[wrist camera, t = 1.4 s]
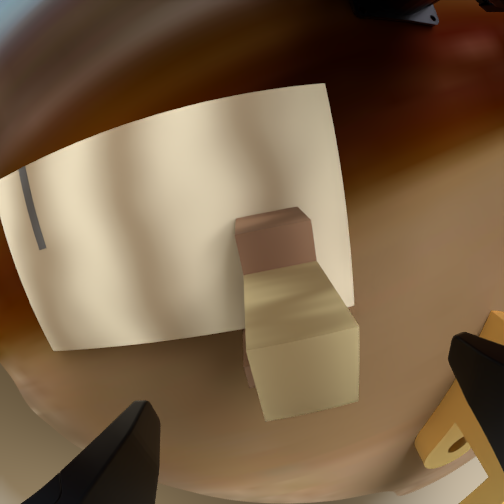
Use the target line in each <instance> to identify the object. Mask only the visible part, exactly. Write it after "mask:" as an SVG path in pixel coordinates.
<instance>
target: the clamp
mask: <svg viewBox="0 0 504 504" xmlns="http://www.w3.org/2000/svg"><path fill="white" fill-rule="evenodd" d="M479 337H481V338H484V339H487V340H490V341H493V342H496V343H498V344H501V345H504V312H501V311H492V310H491V312H490V314H489V316H488V319H487V321H486V323H485V325H484V327H483V329H482V331H481V333H480V335H479ZM414 445H415V447H416V449H417V451H418V453H419V455H420V457H421V460H422V462H423V464H424V466H425V467H426V468H428V469H433V468H438V467H441V466H444V465H446V464H448V463H450V462H452V461H454V460H455V459H457V458H459V457H460V456H462V455H463V454H464V453H466V452H467V451H468V450H469V449H471V448H472V450H473V451H474V453H475V455H476V456H477V458H478V460H479V461H480V463H481V465H482V466H483V468H484V470H485V471H486V473H487V475H488V478H487V479H486V480H485V481H484V482H483V483H482V484H481V485H480V486H478V487H477V488H476V489H475V490H474V491H473V492H472V493H471V494H469V495H468V496H467V497H466V498H465V499H464V500H462V501H461V502H460V503H459V504H504V472H503V470H502V468H501V465H500V463H499V461H498V459H497V457H496V455H495V453H494V451H493V449H492V447H491V445H490V443H489V441H488V439H487V437H486V436H485V434H484V432H483V430H482V428H481V426H480V424H479V423H478V421H477V419H476V417H475V415H474V414H473V412H472V410H471V408H470V406H469V405H468V403H467V401H466V399H465V397H464V395H463V392H462V390H461V388H460V386H459V383H458V381H457V379H455V381H454V382H453V384H452V386H451V387H450V389H449V390H448V392H447V393H446V395H445V397H444V398H443V400H442V401H441V403H440V404H439V406H438V407H437V408H436V410H435V411H434V413H433V414H432V416H431V417H430V418H429V420H428V421H427V423H426V424H425V425H424V427H423V428H422V429H421V431H420V432H419V433H418V435H417V437H416V439H415V443H414Z"/></svg>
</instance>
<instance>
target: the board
mask: <svg viewBox="0 0 504 504" xmlns="http://www.w3.org/2000/svg"><path fill="white" fill-rule="evenodd" d="M291 207H298V208H299V209H300V210H301V211H302V212H303V213H305V214H306V215H307V216H308V217H309V218H310V219H311V223H312V230H313V237H314V244H315V252H316V259H317V262H318V263H319V265H320V266H321V268H322V269H323V271H324V272H325V274H326V275H327V277H328V279H329V280H330V282H331V283H332V285H333V286H334V288H335V289H336V291H337V292H338V294H339V295H340V297H341V299H342V300H343V302H344V303H345V305H346V306H347V307H350V306H354V292H353V276H352V262H351V250H350V239H349V229H348V220H347V211H346V203H345V195H344V187H343V180H342V173H341V167H340V160H339V154H338V148H337V142H336V136H335V131H334V125H333V120H332V115H331V110H330V105H329V100H328V95H327V91H326V86H325V83H321V84H310V85H301V86H292V87H285V88H277V89H270V90H264V91H258V92H252V93H246V94H241V95H235V96H230V97H225V98H220V99H216V100H211V101H207V102H203V103H198V104H194V105H190V106H186V107H182V108H178V109H175V110H171V111H167V112H164V113H160V114H157V115H154V116H150V117H147V118H144V119H141V120H137V121H134V122H131V123H128V124H125V125H122V126H119V127H117V128H114V129H111V130H108V131H105V132H103V133H100V134H97V135H95V136H92V137H90V138H87V139H85V140H82V141H80V142H77V143H75V144H72V145H70V146H68V147H65V148H63V149H61V150H58V151H56V152H54V153H52V154H50V155H47V156H45V157H43V158H41V159H39V160H37V161H35V162H33V163H31V164H29V165H27V166H24V167H22V168H20V169H19V170H17V171H15V172H13V173H11V174H9V175H8V176H6V177H4V178H2V179H0V217H1V221H2V225H3V228H4V232H5V235H6V238H7V242H8V245H9V248H10V251H11V254H12V257H13V260H14V263H15V266H16V268H17V271H18V274H19V276H20V279H21V282H22V284H23V287H24V289H25V292H26V294H27V297H28V299H29V301H30V304H31V306H32V308H33V310H34V313H35V315H36V317H37V319H38V321H39V323H40V326H41V328H42V330H43V332H44V334H45V336H46V338H47V340H48V342H49V344H50V345H51V347H52V349H53V351H65V350H80V349H93V348H104V347H115V346H125V345H134V344H143V343H152V342H160V341H168V340H175V339H182V338H189V337H196V336H203V335H209V334H216V333H222V332H228V331H234V330H239V329H245V307H244V275H243V271H242V266H241V262H240V257H239V253H238V248H237V244H236V239H235V221H236V218H240V217H245V216H250V215H255V214H260V213H265V212H270V211H276V210H281V209H286V208H291Z"/></svg>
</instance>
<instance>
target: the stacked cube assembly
mask: <svg viewBox="0 0 504 504" xmlns="http://www.w3.org/2000/svg"><path fill="white" fill-rule="evenodd" d="M235 239H236V244H237V248H238V253H239V257H240V262H241V266H242V271H243V275H244V307H245V329H243V366H244V370H245V374H246V377H247V381H248V384H249V388H254V387H256V389H257V393H258V397H259V400H260V404H261V407H262V411H263V414H264V418H265V422H266V421H272V420H278V419H283V418H289V417H294V416H299V415H304V414H309V413H313V412H318V411H322V410H326V409H330V408H334V407H338V406H342V405H346V404H350V403H353V402H357V401H358V395H359V325H358V324H357V322H356V321H355V319H354V317H353V316H352V314H351V313H350V311H349V309H348V308H347V306H346V305H345V303H344V302H343V300H342V299H341V297H340V295H339V294H338V292H337V291H336V289H335V288H334V286H333V285H332V283H331V282H330V280H329V279H328V277H327V275H326V274H325V272H324V271H323V269H322V268H321V266H320V265H319V263H318V262H317V259H316V252H315V244H314V237H313V230H312V223H311V219H310V218H309V217H308V216H307V215H306V214H305V213H303V212H302V211H301V210H300V209H299V208H298V207H291V208H286V209H281V210H276V211H270V212H265V213H260V214H255V215H250V216H245V217H240V218H236V221H235Z"/></svg>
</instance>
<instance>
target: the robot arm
mask: <svg viewBox="0 0 504 504" xmlns="http://www.w3.org/2000/svg"><path fill="white" fill-rule="evenodd" d="M349 1H350V4H351V7H352V9H353V12H354V14H355V15H356V16H357V17H359V18H363V19H380V20H391V21H401V22H409V23H416V24H423V25H429V26H435V25H437V24H438V23H439V20H438V17H437V14H436V11H435V9H434V6H433V4H434V3H436V2H438V1H439V0H349ZM476 1H477V2H478V3H479V6H481V7H482V8H483V9H484V10H485V11H486V12H504V0H476ZM359 9H362V10H363V11H364V13H362V12H360V10H359ZM430 17H431V18H432V20H433V21H432V20H431V18H430ZM448 361H449V364H450V366H451V368H452V371H453V373H454V375H455V377H456V379H457V381H458V383H459V386H460V388H461V390H462V392H463V395H464V397H465V399H466V401H467V403H468V405H469V406H470V408H471V410H472V412H473V414H474V415H475V417H476V419H477V421H478V423H479V424H480V426H481V428H482V430H483V432H484V434H485V436H486V437H487V439H488V441H489V443H490V445H491V447H492V449H493V451H494V453H495V455H496V457H497V459H498V461H499V463H500V465H501V468H502V470H503V472H504V345H501V344H498V343H496V342H493V341H490V340H487V339H484V338H481V337H478V336H475V335H473V334H470V333H467V332H462V333H459V334H457V335H455V336H453V338H452V341H451V346H450V351H449V356H448ZM159 462H160V420H159V418H158V416H157V414H156V412H155V411H154V409H153V407H152V405H151V404H150V402H149V401H146V400H141V401H134V402H133V403H132V404H131V405H130V406H129V407H128V408H127V409H126V410H125V411H124V412H123V413H122V414H120V415H119V416H118V417H117V418H116V419H115V420H114V421H113V422H112V423H111V424H110V425H109V426H108V427H107V428H106V429H105V430H104V431H103V432H102V433H101V434H100V435H99V436H98V437H97V438H95V439H94V440H93V441H92V442H91V443H90V444H89V445H88V446H87V447H86V448H85V449H84V450H83V451H82V452H81V453H80V454H79V455H78V456H77V457H75V458H74V459H73V460H72V461H71V462H70V463H69V464H68V465H67V466H66V467H65V468H64V469H62V470H61V472H60V473H58V474H57V475H56V476H55V477H54V478H53V479H52V480H50V481H49V482H48V483H47V484H46V485H45V486H44V487H42V488H41V489H40V490H39V491H37V492H36V493H35V494H34V495H32V496H31V497H29V498H28V499H27V500H25V501H24V502H23V503H21V504H155V498H156V490H157V482H158V475H159Z"/></svg>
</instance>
